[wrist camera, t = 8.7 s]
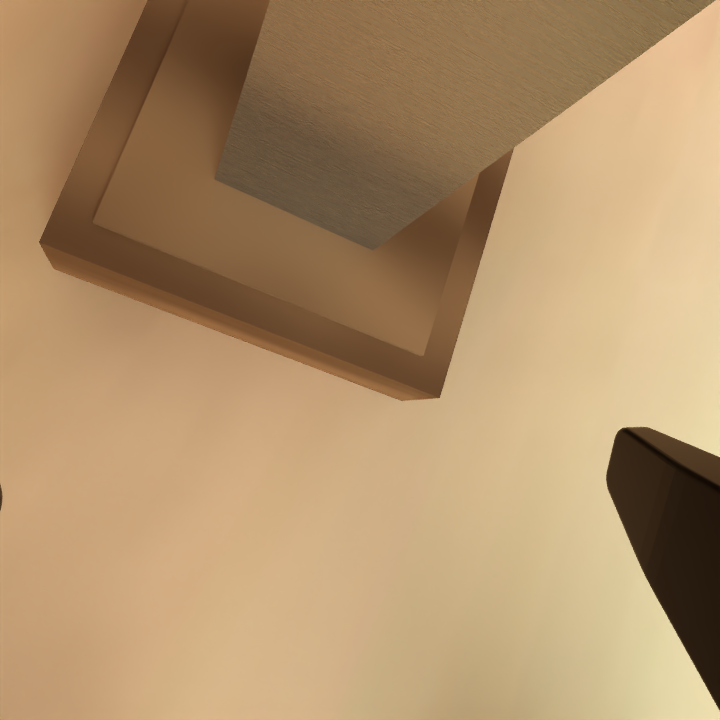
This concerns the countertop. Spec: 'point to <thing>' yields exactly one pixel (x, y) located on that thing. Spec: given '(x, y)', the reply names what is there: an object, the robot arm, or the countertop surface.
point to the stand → (254, 221)
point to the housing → (415, 97)
